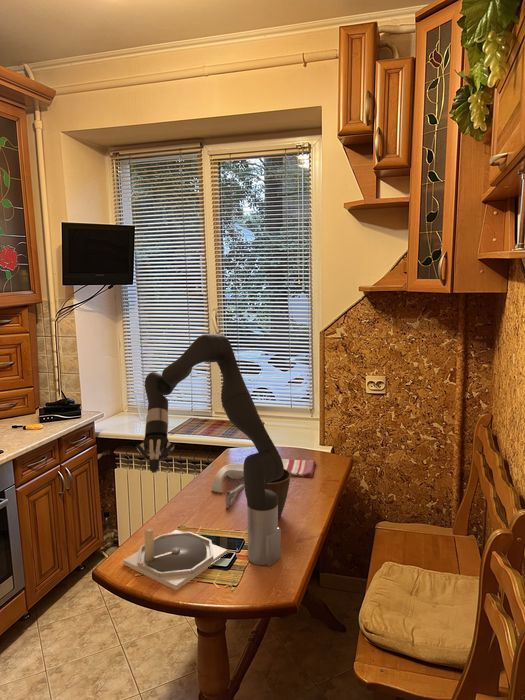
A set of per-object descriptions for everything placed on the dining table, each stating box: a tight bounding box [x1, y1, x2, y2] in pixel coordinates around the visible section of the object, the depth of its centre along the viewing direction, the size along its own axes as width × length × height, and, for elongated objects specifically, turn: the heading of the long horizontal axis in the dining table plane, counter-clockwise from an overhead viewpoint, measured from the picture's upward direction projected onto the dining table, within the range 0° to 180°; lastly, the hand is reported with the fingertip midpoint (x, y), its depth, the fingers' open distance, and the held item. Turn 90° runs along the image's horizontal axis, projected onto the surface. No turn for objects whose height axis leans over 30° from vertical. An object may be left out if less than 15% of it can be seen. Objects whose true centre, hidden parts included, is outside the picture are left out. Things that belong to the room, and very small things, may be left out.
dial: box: [143, 528, 207, 572], centre depth 156 cm, size 19×19×10 cm
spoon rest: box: [211, 463, 244, 493], centre depth 213 cm, size 24×12×7 cm, turn 156°
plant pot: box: [264, 469, 291, 521], centre depth 181 cm, size 15×15×16 cm
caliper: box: [225, 483, 245, 509], centre depth 199 cm, size 20×1×6 cm, turn 165°
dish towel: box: [281, 458, 316, 478], centre depth 226 cm, size 17×23×3 cm
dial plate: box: [122, 529, 228, 591], centre depth 157 cm, size 22×22×3 cm
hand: (153, 471), depth 168 cm, fingers closed
